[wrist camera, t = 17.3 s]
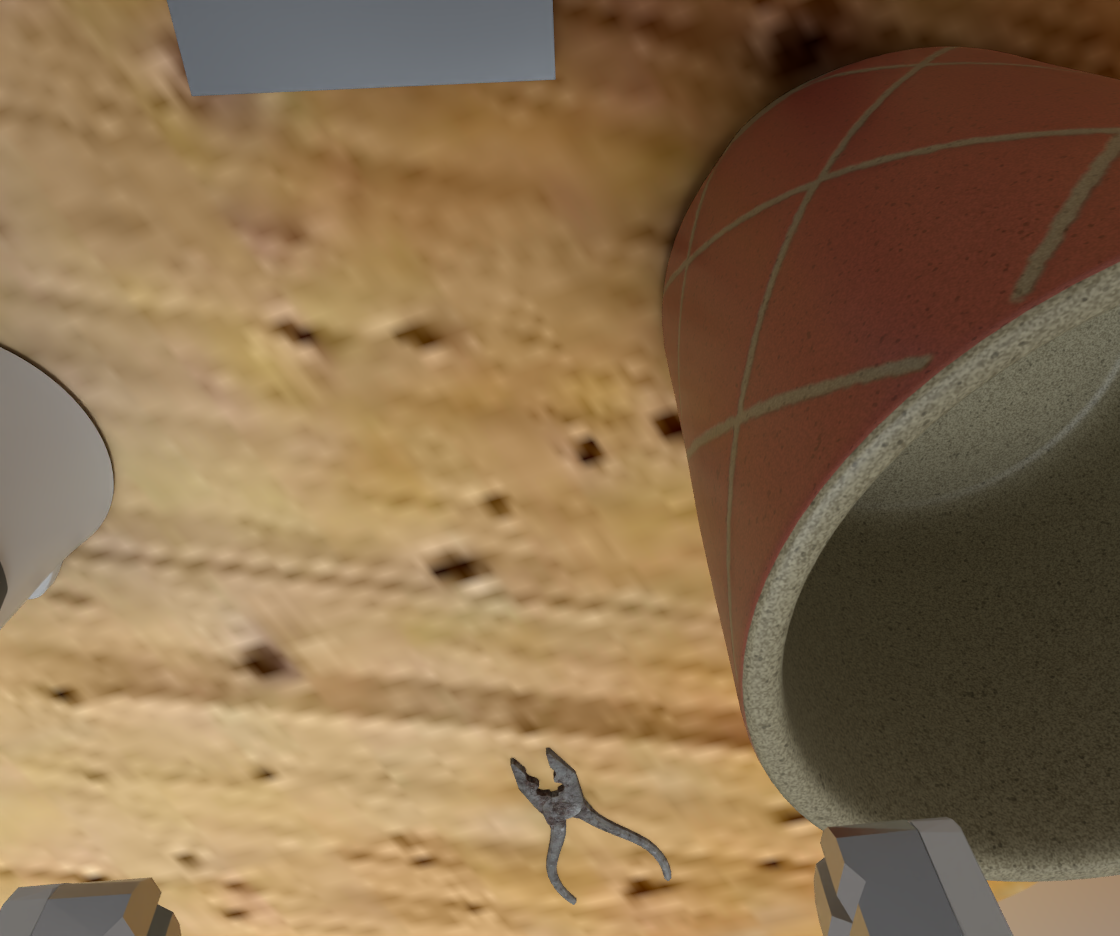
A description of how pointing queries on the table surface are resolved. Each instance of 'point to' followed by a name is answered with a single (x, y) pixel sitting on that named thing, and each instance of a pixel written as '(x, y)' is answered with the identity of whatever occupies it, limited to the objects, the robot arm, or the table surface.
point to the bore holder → (360, 43)
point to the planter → (918, 446)
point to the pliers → (571, 815)
